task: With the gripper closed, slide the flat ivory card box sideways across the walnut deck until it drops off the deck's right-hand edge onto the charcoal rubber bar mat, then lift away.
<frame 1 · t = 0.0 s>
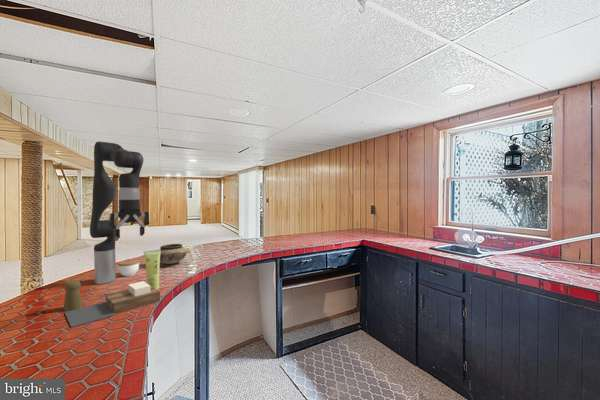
hand: (130, 236, 111), 29 cm above the worktop, tool pointing down, fingers open, 8 cm apart
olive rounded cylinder: (73, 308, 109), on the worktop
ceramic bowl: (171, 264, 175), on the worktop
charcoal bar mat: (89, 314, 103), on the worktop
ivory card box: (139, 291, 116), point 4 cm above the worktop, touching walnut deck
walnut deck: (133, 302, 115), on the worktop
lidded jar: (128, 275, 154), on the worktop
tube: (153, 289, 130), on the worktop
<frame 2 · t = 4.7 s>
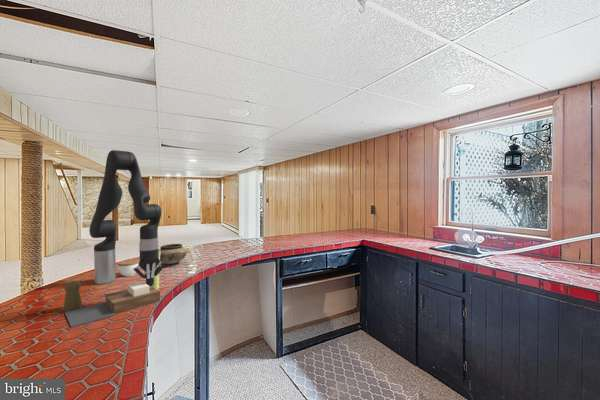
hand: (149, 285, 119), 6 cm above the worktop, tool pointing down, fingers closed
nothing on the worktop moved.
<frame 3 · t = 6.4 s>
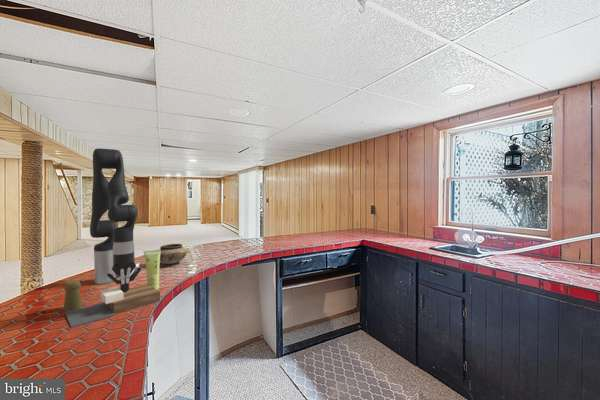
hand: (124, 291, 112), 6 cm above the worktop, tool pointing down, fingers closed
ivory card box: (111, 298, 109), point 4 cm above the worktop, touching gripper, walnut deck
everything else where it was.
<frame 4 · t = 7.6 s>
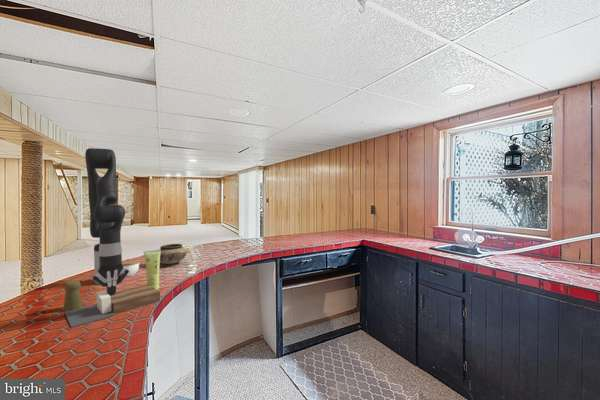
hand: (111, 294, 109), 6 cm above the worktop, tool pointing down, fingers closed
ivory card box: (108, 300, 108), point 4 cm above the worktop, tilted 92°, touching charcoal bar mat, gripper
everything else where it was.
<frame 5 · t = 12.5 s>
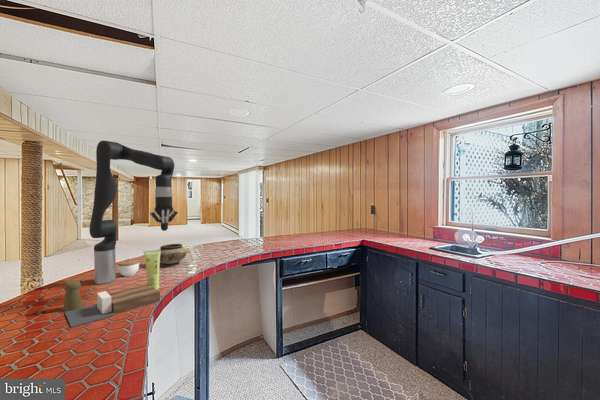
hand: (164, 230, 132), 29 cm above the worktop, tool pointing down, fingers closed
ivory card box: (108, 300, 108), point 3 cm above the worktop, tilted 90°, touching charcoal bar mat
everything else where it was.
at the end: ivory card box point 3.4 cm above the worktop; ivory card box inside the target area on the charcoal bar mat (6.2 cm from its centre), point 3.4 cm above the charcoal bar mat's base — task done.
